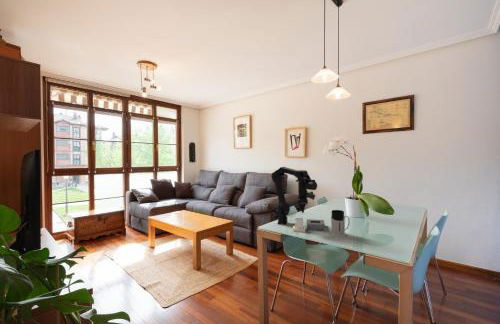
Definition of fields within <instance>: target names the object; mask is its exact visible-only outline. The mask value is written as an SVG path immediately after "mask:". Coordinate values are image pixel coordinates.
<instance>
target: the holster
mask: <svg viewBox="0 0 500 324" xmlns="http://www.w3.org/2000/svg"><path fill="white" fill-rule="evenodd" d="M292 232H295V233H296V232H298V233H305V232H306V226H305V225H303V229H301V228H295V225H293V227H292Z"/></svg>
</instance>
